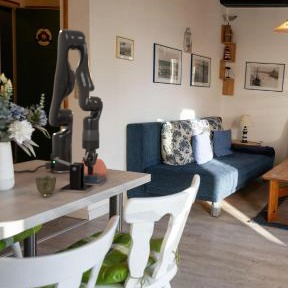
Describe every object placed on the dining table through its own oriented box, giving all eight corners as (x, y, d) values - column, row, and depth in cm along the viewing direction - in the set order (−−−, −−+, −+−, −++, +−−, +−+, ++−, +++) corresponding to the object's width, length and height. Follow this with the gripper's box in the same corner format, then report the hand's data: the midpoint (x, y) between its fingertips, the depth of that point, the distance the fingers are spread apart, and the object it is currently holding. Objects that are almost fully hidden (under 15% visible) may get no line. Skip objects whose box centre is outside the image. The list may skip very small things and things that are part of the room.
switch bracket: (59, 191, 162) (59, 164, 160) (68, 186, 171) (69, 161, 169) (85, 192, 162) (85, 166, 161) (93, 187, 171) (93, 162, 170)
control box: (73, 184, 174) (73, 176, 174) (82, 179, 184) (82, 171, 184) (99, 185, 175) (99, 177, 174) (106, 180, 185) (106, 173, 184)
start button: (84, 178, 177) (84, 174, 177) (88, 176, 181) (88, 173, 181) (93, 179, 177) (93, 175, 177) (96, 177, 181) (96, 173, 181)
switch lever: (50, 162, 162) (51, 157, 162) (55, 160, 167) (57, 155, 167) (76, 172, 163) (78, 167, 163) (81, 170, 168) (83, 165, 168)
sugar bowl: (97, 180, 185) (97, 159, 184) (72, 177, 188) (72, 157, 186) (111, 175, 197) (111, 156, 196) (87, 172, 200) (88, 153, 198)
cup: (60, 195, 156) (60, 176, 155) (47, 200, 149) (47, 180, 148) (45, 193, 158) (45, 174, 157) (31, 197, 151) (31, 178, 150)
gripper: (88, 136, 183) (88, 171, 185) (76, 139, 170) (76, 176, 172) (103, 137, 183) (103, 171, 186) (93, 140, 170) (93, 177, 172)
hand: (90, 174), depth 179 cm, fingers closed
